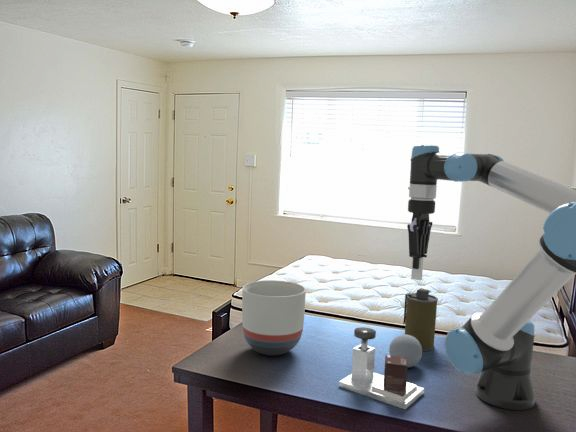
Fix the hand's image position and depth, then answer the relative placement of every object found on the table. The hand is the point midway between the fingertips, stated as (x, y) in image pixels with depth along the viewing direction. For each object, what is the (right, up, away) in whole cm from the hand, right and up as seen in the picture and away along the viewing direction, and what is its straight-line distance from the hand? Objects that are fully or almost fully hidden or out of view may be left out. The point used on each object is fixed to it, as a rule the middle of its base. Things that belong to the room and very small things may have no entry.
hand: (416, 279), depth 150 cm
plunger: (-16, -27, -4) cm, 32 cm away
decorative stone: (-1, -29, +10) cm, 30 cm away
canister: (+8, -27, +28) cm, 40 cm away
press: (-12, -30, -7) cm, 33 cm away
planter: (-43, -26, +17) cm, 53 cm away
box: (-8, -28, -10) cm, 31 cm away
